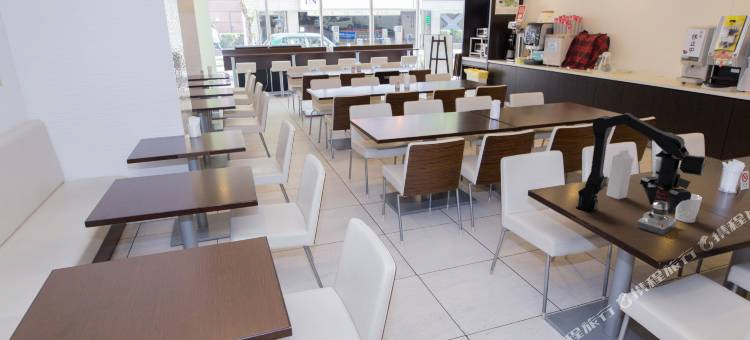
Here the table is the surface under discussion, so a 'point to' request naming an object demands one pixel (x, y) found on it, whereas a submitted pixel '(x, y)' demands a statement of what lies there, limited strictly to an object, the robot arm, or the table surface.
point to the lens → (659, 210)
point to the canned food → (662, 195)
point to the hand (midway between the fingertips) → (660, 209)
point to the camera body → (656, 224)
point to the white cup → (688, 209)
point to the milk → (620, 175)
